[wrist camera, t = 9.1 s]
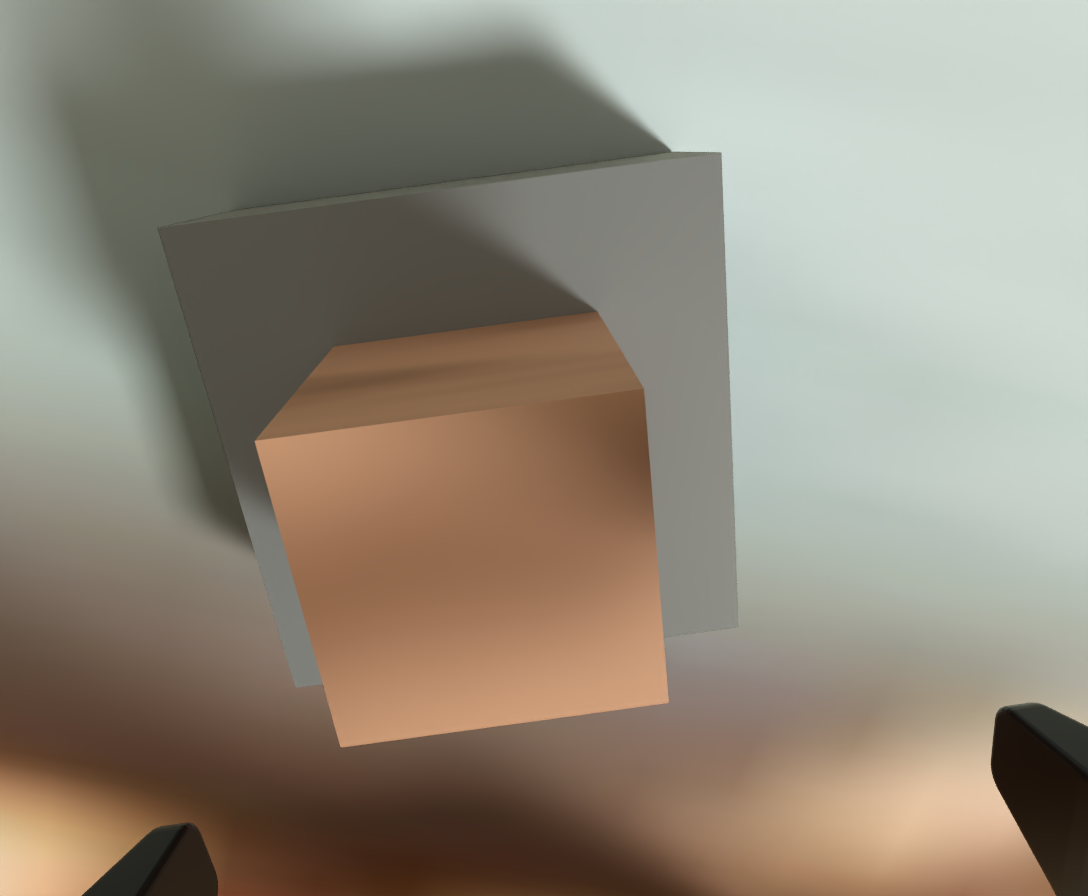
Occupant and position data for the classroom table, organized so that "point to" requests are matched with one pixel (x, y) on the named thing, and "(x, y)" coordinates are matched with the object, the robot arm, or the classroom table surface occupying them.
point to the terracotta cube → (472, 528)
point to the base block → (476, 301)
